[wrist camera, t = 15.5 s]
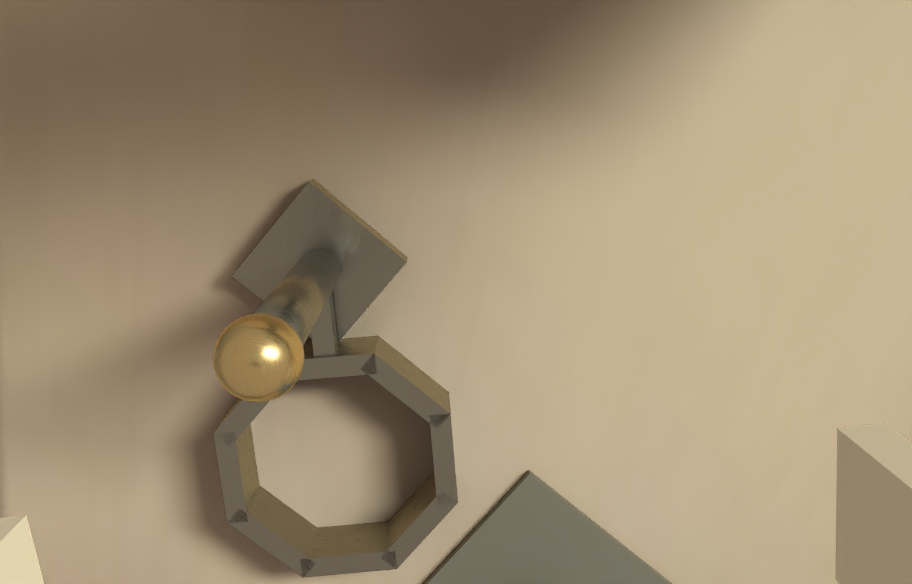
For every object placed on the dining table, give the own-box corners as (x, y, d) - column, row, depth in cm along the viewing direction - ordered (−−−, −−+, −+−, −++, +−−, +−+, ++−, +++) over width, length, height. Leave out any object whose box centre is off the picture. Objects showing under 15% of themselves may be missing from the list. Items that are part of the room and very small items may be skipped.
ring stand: (312, 179, 45) (229, 228, 26) (548, 374, 48) (630, 547, 29) (124, 410, 47) (-79, 610, 28) (359, 580, 51) (319, 864, 32)
